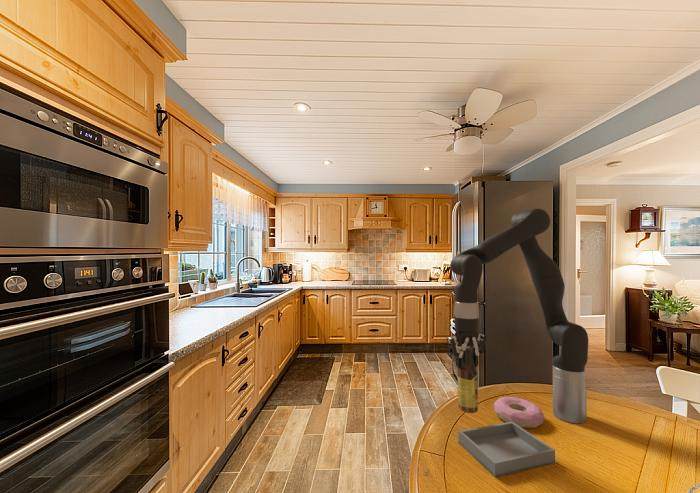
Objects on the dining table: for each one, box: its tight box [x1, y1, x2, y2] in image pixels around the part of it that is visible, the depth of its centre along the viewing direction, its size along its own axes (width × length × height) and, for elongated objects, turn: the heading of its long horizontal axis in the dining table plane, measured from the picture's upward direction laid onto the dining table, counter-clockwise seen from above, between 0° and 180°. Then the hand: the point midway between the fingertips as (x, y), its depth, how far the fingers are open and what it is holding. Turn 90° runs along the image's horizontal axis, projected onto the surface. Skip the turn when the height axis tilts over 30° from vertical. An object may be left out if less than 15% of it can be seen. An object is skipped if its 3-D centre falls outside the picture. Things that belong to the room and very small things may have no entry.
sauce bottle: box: [457, 347, 479, 414], centre depth 101 cm, size 7×6×20 cm
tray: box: [458, 422, 556, 478], centre depth 89 cm, size 20×15×4 cm
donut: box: [493, 396, 545, 429], centre depth 108 cm, size 16×15×5 cm
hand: (467, 367), depth 101 cm, fingers closed on sauce bottle, 5 cm apart
